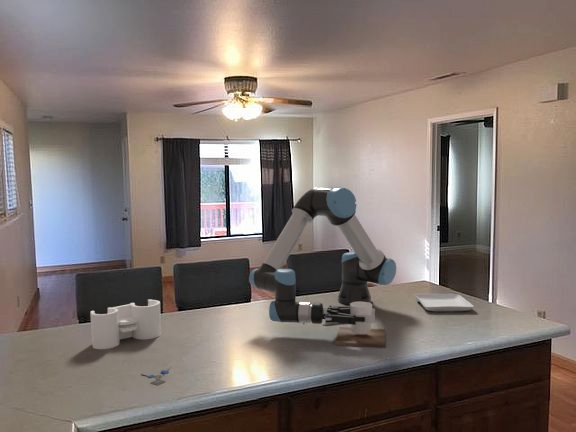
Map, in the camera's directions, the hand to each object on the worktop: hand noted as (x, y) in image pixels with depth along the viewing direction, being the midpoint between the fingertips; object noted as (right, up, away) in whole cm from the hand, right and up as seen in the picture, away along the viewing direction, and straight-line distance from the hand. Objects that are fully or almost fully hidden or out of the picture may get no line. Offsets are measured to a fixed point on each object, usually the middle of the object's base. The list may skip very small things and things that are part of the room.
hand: (374, 315), depth 174 cm
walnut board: (-5, -8, +2) cm, 10 cm away
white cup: (-5, -6, +1) cm, 8 cm away
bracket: (-89, -9, +3) cm, 90 cm away
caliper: (-8, -7, +22) cm, 24 cm away
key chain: (-71, -12, -29) cm, 78 cm away
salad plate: (+38, -5, +42) cm, 57 cm away
